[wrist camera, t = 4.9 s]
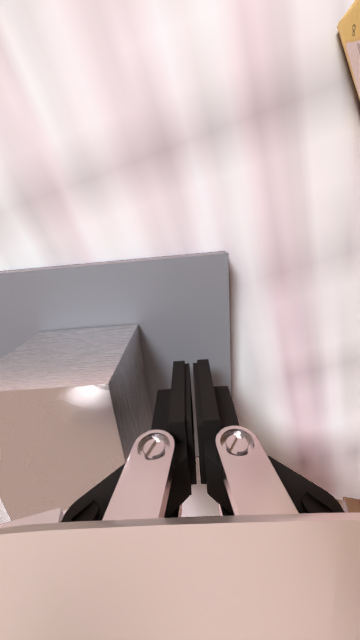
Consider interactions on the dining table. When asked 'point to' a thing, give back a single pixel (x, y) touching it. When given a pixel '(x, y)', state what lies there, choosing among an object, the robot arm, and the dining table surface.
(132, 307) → the board
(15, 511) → the plunger
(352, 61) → the candy box
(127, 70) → the dining table surface
